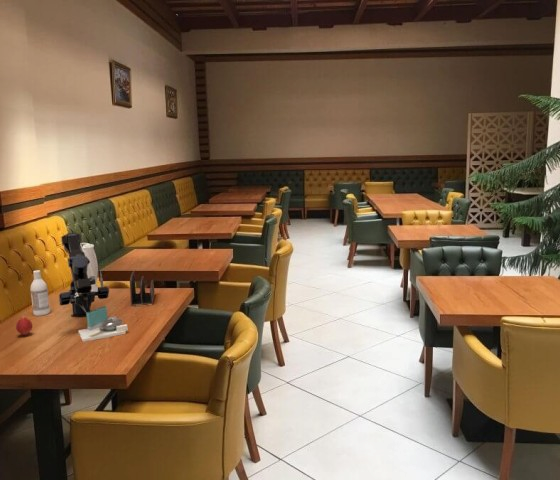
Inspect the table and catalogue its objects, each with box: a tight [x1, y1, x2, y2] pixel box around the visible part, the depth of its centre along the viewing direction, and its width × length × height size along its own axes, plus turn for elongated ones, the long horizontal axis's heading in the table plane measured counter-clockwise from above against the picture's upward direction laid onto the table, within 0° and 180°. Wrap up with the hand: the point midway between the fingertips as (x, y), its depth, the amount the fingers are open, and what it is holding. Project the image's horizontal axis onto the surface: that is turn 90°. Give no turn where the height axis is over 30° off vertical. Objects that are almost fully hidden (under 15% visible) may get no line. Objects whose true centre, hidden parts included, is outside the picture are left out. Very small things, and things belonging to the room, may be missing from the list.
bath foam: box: [30, 269, 51, 317], centre depth 233 cm, size 7×7×20 cm
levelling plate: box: [77, 324, 129, 343], centre depth 205 cm, size 17×12×3 cm
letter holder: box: [129, 270, 156, 307], centre depth 249 cm, size 10×20×14 cm, turn 11°
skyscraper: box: [80, 242, 104, 292], centre depth 260 cm, size 8×8×28 cm
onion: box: [15, 315, 33, 336], centre depth 205 cm, size 6×6×8 cm
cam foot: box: [86, 305, 123, 330], centre depth 204 cm, size 15×9×9 cm, turn 152°
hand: (88, 313), depth 204 cm, fingers closed
